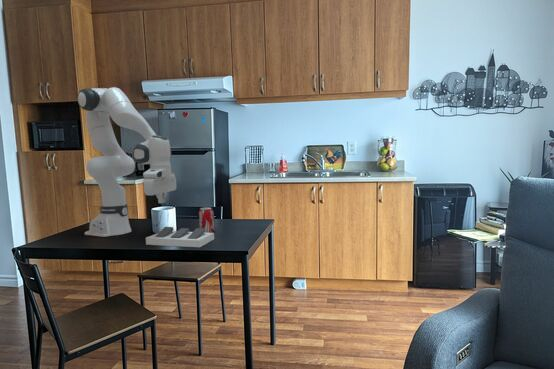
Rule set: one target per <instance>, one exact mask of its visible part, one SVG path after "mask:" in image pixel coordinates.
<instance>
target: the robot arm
mask: <svg viewBox="0 0 554 369" xmlns="http://www.w3.org/2000/svg"><path fill="white" fill-rule="evenodd" d="M76 99H77V103H78V105H79V107H80V108H81V109H82V110H83V111H86V113H85V119H86V120H85V121H86V126H87V131H88V134H89V136H90V140H91V141H90V142H91V143H92V147H93V148H94V149H95V150H97V151H99V153H101V154H102V155H99V156H95V157H92V158H90V159H89V160H88V161H87V162H86V168H85V169H86V172H87V174H88V175H89V176H90V177H91V178H93V179H94V181H95V182H96V183H97V185H98V187H99V189H100V193H101V194H100V195H101V202H102V203H101V204H102V205H101V206H100V207H98V209H97V210H98V211H99V214H98V215H96V216H95V217H94V218H93V219H92V220H91V221H90V222H89V227H88V228H89V230H87V231H85V232H84V236H94V237H101V238H103V237H111V236H112V237H114V236H119V235H125V234H128V233H131V232H133V231H132V228H131V225H130V221H129V217H128V216H129V215H128V211H129V210H128V203H127V196H126V195H127V194H126V189H125V187H124V186H122V185H121V184H119V182H118V179H117V178H123V177H126V176H128V175H131V174H133V172H135V168H136V165H135V164H136V163H137V164H139V165H149V168H148V169H147V170H146V171H144V172H143V173H142V177H143V178H144V180H143V193H144V194H145V196H156V198H157V201H158V204H164V203H166V197H167V195H168V194H167V193H170V192H173V191H176V190H177V188H178V187H177V178H176V175H175V172H173V170H172V164H171V158H172V150H171V144H170V140H169V138H168V137H166V136H163V135H159V134H158V133H157V132H156V131H155V129H154V127H153V126H152V125H151V123H150V122H149V121H148V120H147V119H146V118H145V117H143V116H142V115H141V113H139V112H138V111H137V109H136V108H135V107H134V105H133V103H132V102H131V100H130V99H129V98H128V96H127V95H126V94H125V92H124V91H122V90H121V88H118V87H116V86H113V87H109V88H105V87H99V88H98V87H96V88H90V87H86V88H82V89H80V90H79V91H78V93H77V98H76ZM110 117H111V119H112V121H113V122H114V123H115V124H116V125H118V127H122V128H125V129H129V130H132V131H133V132H134V131H135V132H136V133H139V134H140V135H141V136H142V137H143V138H144V139H145V141H143V142H141V143H137V144H136V145H135V146H134V147H133V151H132V156H133V157H132V156H129V155H128V154H127V153H126V152H125V151H124V150H123V148H122V147H121V146H120V145H119V142H118V140H117V138H116V135H115V132H114V129H113V125H112V122H111V120H110Z"/></svg>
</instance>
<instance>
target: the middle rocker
mask: <svg viewBox="0 0 554 369" xmlns="http://www.w3.org/2000/svg"><path fill="white" fill-rule="evenodd" d="M176 231H177V232H176V233H175V234H173V235H172V236H171V238H181V237H183V236H185V235H186V234H187V233H188V232H190V229H189V228H188V227H187V228H185V227H180V228H179V229H178V230H176Z"/></svg>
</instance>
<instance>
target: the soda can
mask: <svg viewBox="0 0 554 369" xmlns="http://www.w3.org/2000/svg"><path fill="white" fill-rule="evenodd" d="M214 215H215V214H214V210H213V208H212V207H210V206H209V207H206V206H205V207H200V208H199V211H198V219H199V220H198V222H199V228H205V233H213V231H215V221H214V220H215V218H214V217H215V216H214Z"/></svg>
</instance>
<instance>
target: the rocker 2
mask: <svg viewBox="0 0 554 369" xmlns="http://www.w3.org/2000/svg"><path fill="white" fill-rule="evenodd" d="M191 232H192V234H191V235H190V236H189V237H188V238H187V239H197V238H199V237H201V236H202V235H203V234H204V232H205V228H200V227H198V228H195V229H194V230H193V231H191Z"/></svg>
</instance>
